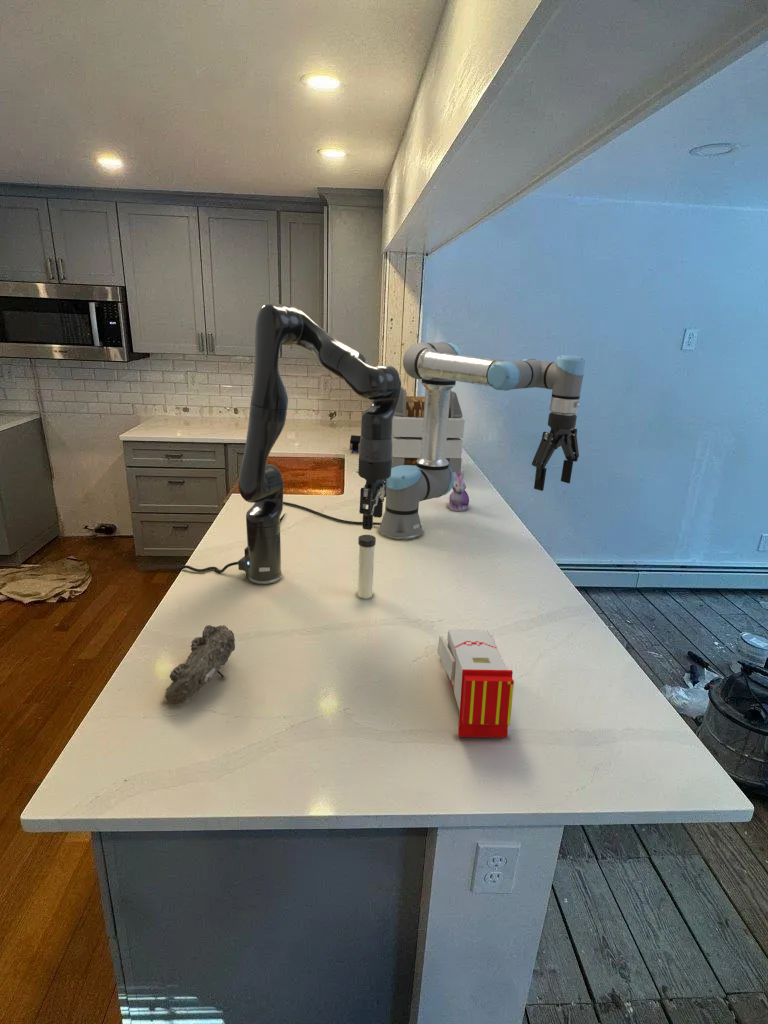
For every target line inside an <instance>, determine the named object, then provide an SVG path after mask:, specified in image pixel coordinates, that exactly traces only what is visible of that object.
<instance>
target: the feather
mask: <svg viewBox="0 0 768 1024" xmlns="http://www.w3.org/2000/svg"><path fill="white" fill-rule="evenodd" d="M285 515H286V513H283V515H281V516H280V523H281V522H282V520H283V519H284V517H285Z"/></svg>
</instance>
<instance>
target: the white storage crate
mask: <svg viewBox="0 0 768 1024" xmlns="http://www.w3.org/2000/svg"><path fill="white" fill-rule="evenodd" d="M407 394H408V393H407V390H406V389H404V388H403V387H402V386H401V392H400V396H399V400H398V404H397V407H396V411H395V413H394V416H393V425H392V466H391V469H392V468H394V467H396V466H401V465H404V466H405V465H413V466H416V461H417V459H418V458H420V457H421V449H422V434H423V419H424V404H425V396H415V395H414V396H413V395H412V396H411V395H407ZM464 429H465V419H464V418H463V411H462V408H461V405H460V402H459V398H458V395H457V392H455V391H453V390H451V392H450V404H449V416H448V428H447V441H446V453H445V458H446V459H447V461H448V462H449V466H450V467H451V469H452V473H454V472H456V473H457V475H458V476H459V475H460V474H461V472H462V461H463V460H462V453H463V442H464V441H463V440H462V439H463V438H464V431H465V430H464Z"/></svg>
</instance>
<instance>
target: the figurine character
mask: <svg viewBox="0 0 768 1024" xmlns="http://www.w3.org/2000/svg"><path fill="white" fill-rule="evenodd" d="M360 438H361V435H353V434H351V435H350V440H349V451H351V454H353V453H357V454H359V444H360Z"/></svg>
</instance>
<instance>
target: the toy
mask: <svg viewBox="0 0 768 1024" xmlns="http://www.w3.org/2000/svg"><path fill="white" fill-rule="evenodd" d="M446 640H447V643H446V641H445V639H444V636H443V635H442V634H439V637H438V646H437V656H438V657H439V659H440V661H441V663H442V666H443V668H444V670H445V672H446V674H447V677H448V679H449V681H450V684H451V687H452V690H453V693H454V697H455V701H456V705H457V708H458V711H459V714H458V715H459V716H458V730H457V731H458V732H457V737H458V738H508V731H509V726H510V725H511V717H512V707H513V697H514V696H513V695H514V684H515V680H514V679H513V673H514V671H513V670H512V669H508V667H507V665H506V662H505V661H504V659H503V658H502V655H501V653H500V651H499V649H498V647H497V643H496V639H495V637H494V635H493V634H491V632H490V631H489V629H467V628H466V629H465V628H463V629H461V628H460V629H459V628H448V630H447V639H446Z"/></svg>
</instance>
